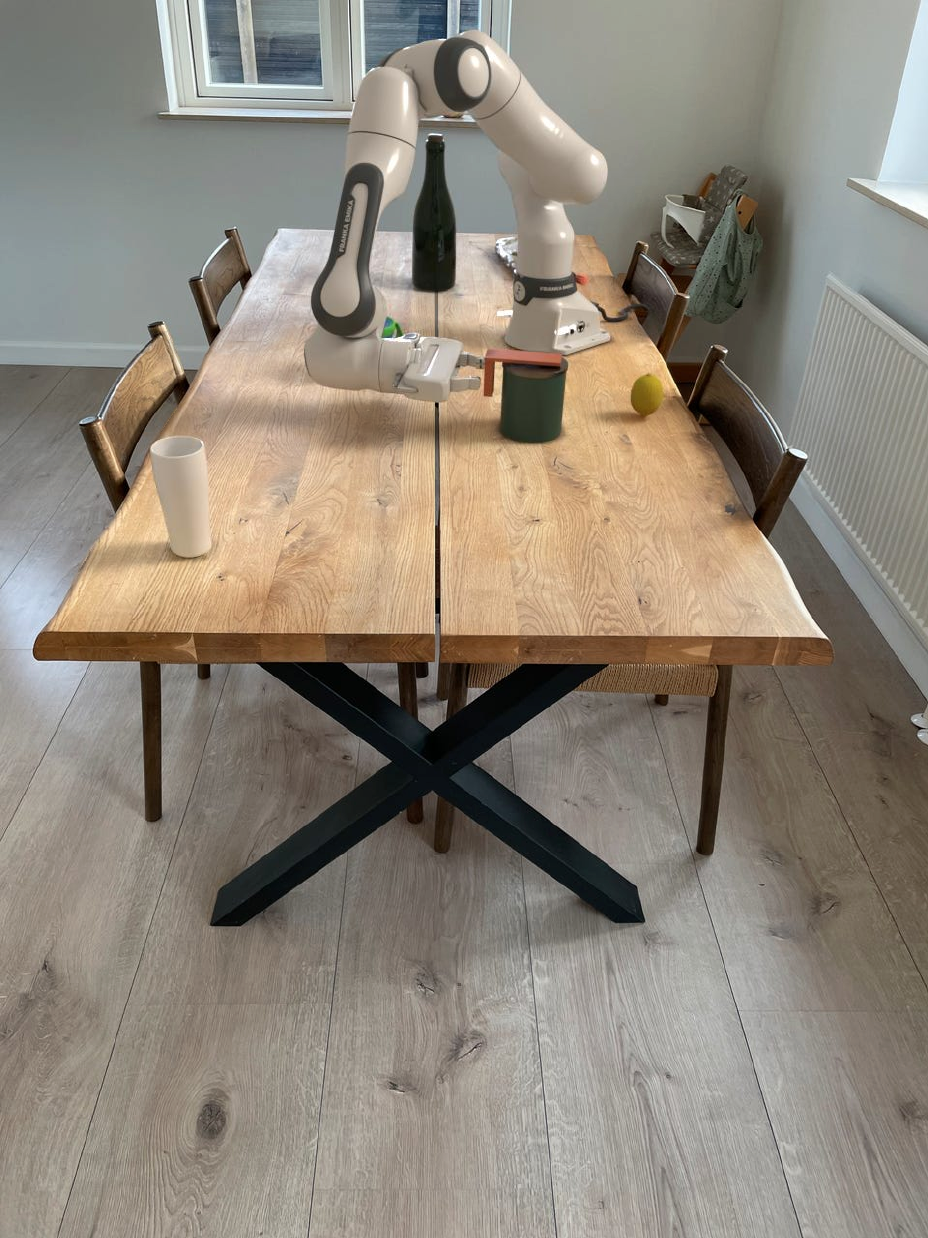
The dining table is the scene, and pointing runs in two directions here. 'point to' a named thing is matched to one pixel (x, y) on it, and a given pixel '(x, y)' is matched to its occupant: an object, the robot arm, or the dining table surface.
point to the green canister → (532, 401)
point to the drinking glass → (183, 493)
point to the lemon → (646, 395)
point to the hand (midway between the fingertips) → (483, 372)
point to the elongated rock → (508, 252)
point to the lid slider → (514, 357)
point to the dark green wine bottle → (434, 225)
